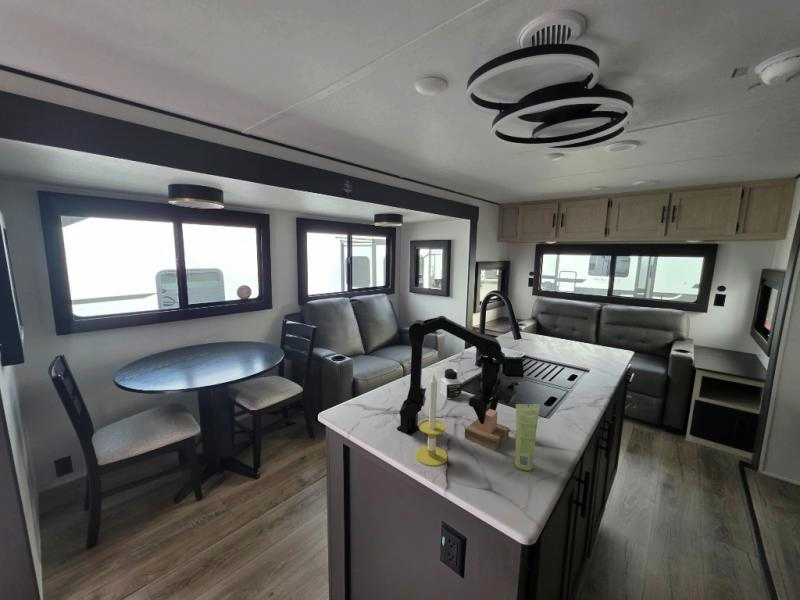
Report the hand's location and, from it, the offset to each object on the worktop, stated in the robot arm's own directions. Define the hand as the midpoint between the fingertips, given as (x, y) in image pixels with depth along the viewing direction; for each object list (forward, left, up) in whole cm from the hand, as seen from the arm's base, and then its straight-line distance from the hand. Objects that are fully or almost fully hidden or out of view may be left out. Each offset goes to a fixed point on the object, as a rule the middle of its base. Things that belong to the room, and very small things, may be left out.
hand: (487, 418), depth 109 cm
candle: (-21, +9, -7) cm, 24 cm away
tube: (-7, -15, -7) cm, 18 cm away
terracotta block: (0, 0, -3) cm, 3 cm away
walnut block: (0, 0, -8) cm, 8 cm away
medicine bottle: (+22, +27, -7) cm, 36 cm away
